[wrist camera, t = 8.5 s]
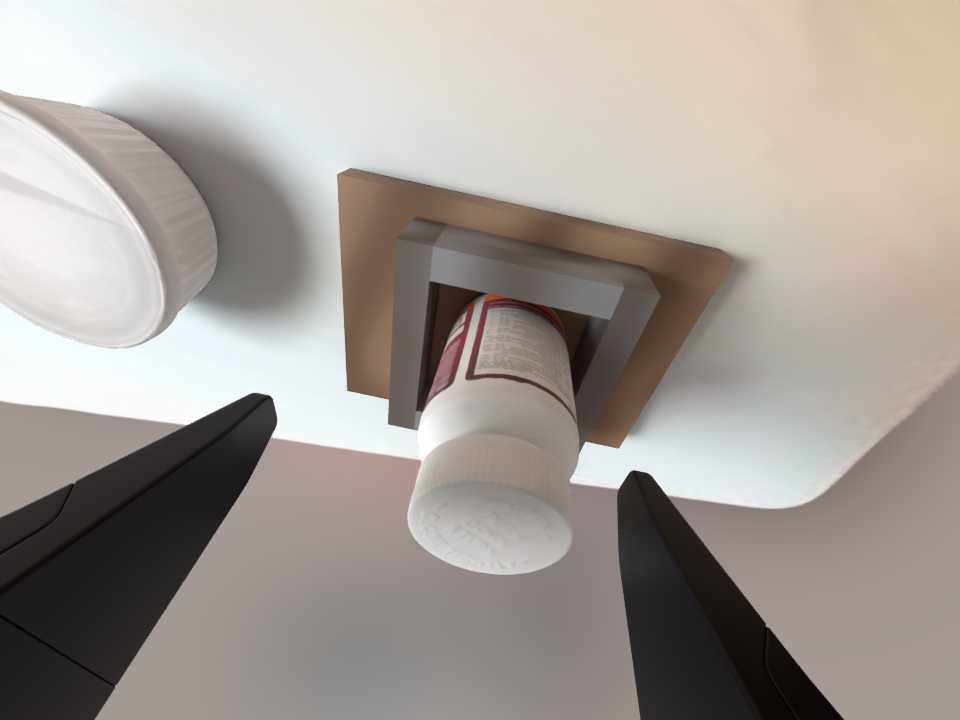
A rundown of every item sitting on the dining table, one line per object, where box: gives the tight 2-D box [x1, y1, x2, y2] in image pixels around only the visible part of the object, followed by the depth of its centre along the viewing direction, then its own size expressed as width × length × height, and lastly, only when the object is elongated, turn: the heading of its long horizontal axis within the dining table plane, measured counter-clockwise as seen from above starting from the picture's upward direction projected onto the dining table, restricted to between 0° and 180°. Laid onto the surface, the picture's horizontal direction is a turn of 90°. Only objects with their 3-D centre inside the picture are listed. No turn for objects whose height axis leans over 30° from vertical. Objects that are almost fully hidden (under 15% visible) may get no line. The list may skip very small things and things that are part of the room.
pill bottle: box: [407, 293, 579, 575], centre depth 16 cm, size 6×6×11 cm
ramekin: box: [0, 90, 218, 348], centre depth 19 cm, size 11×11×5 cm
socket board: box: [337, 168, 733, 453], centre depth 20 cm, size 18×13×4 cm
